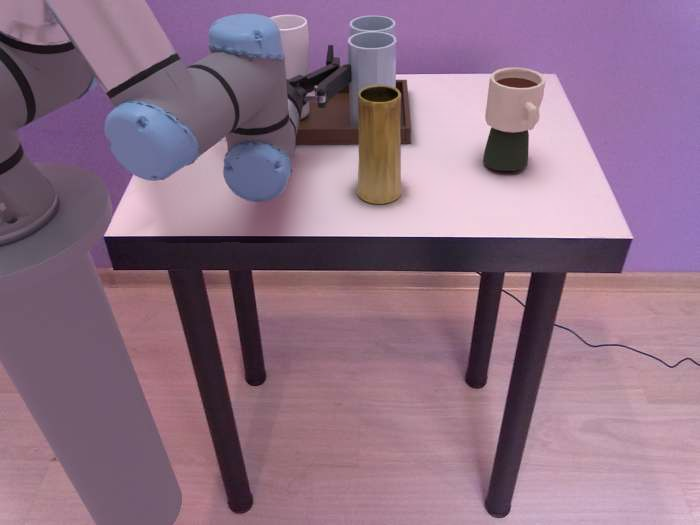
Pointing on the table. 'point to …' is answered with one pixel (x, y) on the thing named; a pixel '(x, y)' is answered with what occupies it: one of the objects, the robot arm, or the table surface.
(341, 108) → the tray
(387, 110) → the vase
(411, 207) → the table surface
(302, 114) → the drinking glass
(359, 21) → the tumbler
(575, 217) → the table surface
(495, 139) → the character mug
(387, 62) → the tumbler
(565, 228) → the table surface
